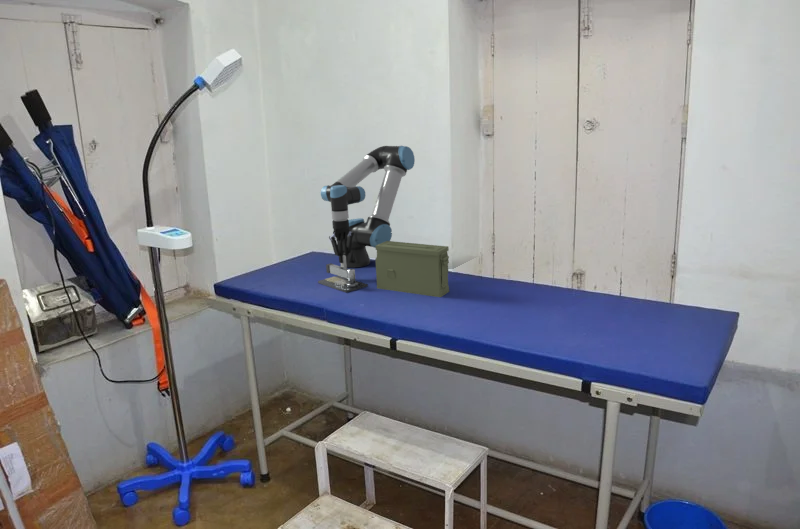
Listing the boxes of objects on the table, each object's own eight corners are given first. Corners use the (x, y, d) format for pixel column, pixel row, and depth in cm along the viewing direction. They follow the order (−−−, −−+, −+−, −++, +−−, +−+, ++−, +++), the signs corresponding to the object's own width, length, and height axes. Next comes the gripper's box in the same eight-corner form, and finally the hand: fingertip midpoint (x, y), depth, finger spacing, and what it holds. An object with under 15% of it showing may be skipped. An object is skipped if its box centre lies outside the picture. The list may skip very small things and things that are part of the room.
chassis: (339, 277, 286) (338, 272, 285) (367, 286, 270) (367, 281, 269) (318, 283, 278) (317, 278, 278) (346, 292, 262) (345, 287, 262)
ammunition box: (442, 298, 250) (441, 251, 245) (375, 288, 266) (373, 244, 261) (452, 291, 258) (451, 246, 252) (387, 282, 274) (385, 240, 269)
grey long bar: (357, 282, 268) (356, 269, 266) (351, 283, 266) (350, 270, 264) (332, 274, 282) (331, 262, 280) (326, 276, 280) (325, 263, 278)
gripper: (347, 216, 282) (350, 264, 288) (324, 220, 274) (327, 270, 280) (356, 218, 276) (359, 267, 283) (333, 222, 268) (337, 273, 274)
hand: (343, 269), depth 281 cm, fingers closed
